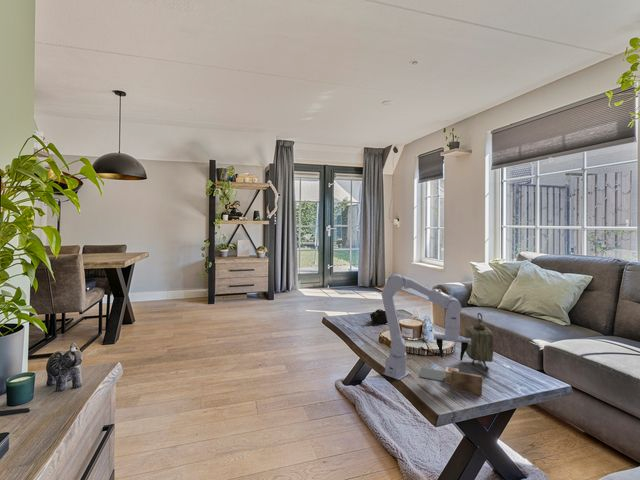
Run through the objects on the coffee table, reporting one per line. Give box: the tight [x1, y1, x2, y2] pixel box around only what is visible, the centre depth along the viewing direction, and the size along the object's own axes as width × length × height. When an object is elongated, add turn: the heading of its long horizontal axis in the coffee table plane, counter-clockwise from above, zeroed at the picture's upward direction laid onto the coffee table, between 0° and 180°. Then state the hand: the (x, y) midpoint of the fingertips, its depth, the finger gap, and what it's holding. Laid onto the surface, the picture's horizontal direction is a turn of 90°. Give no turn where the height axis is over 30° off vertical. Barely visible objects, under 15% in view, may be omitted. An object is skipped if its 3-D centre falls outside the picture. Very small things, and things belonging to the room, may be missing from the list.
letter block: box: [444, 366, 460, 385], centre depth 138 cm, size 5×5×5 cm
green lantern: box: [464, 312, 494, 371], centre depth 155 cm, size 14×9×25 cm, turn 168°
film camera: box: [369, 308, 388, 326], centre depth 222 cm, size 18×12×10 cm
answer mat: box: [419, 367, 445, 383], centre depth 144 cm, size 10×10×1 cm
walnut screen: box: [450, 371, 483, 396], centre depth 129 cm, size 11×2×7 cm, turn 67°
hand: (451, 358), depth 139 cm, fingers open, 7 cm apart
